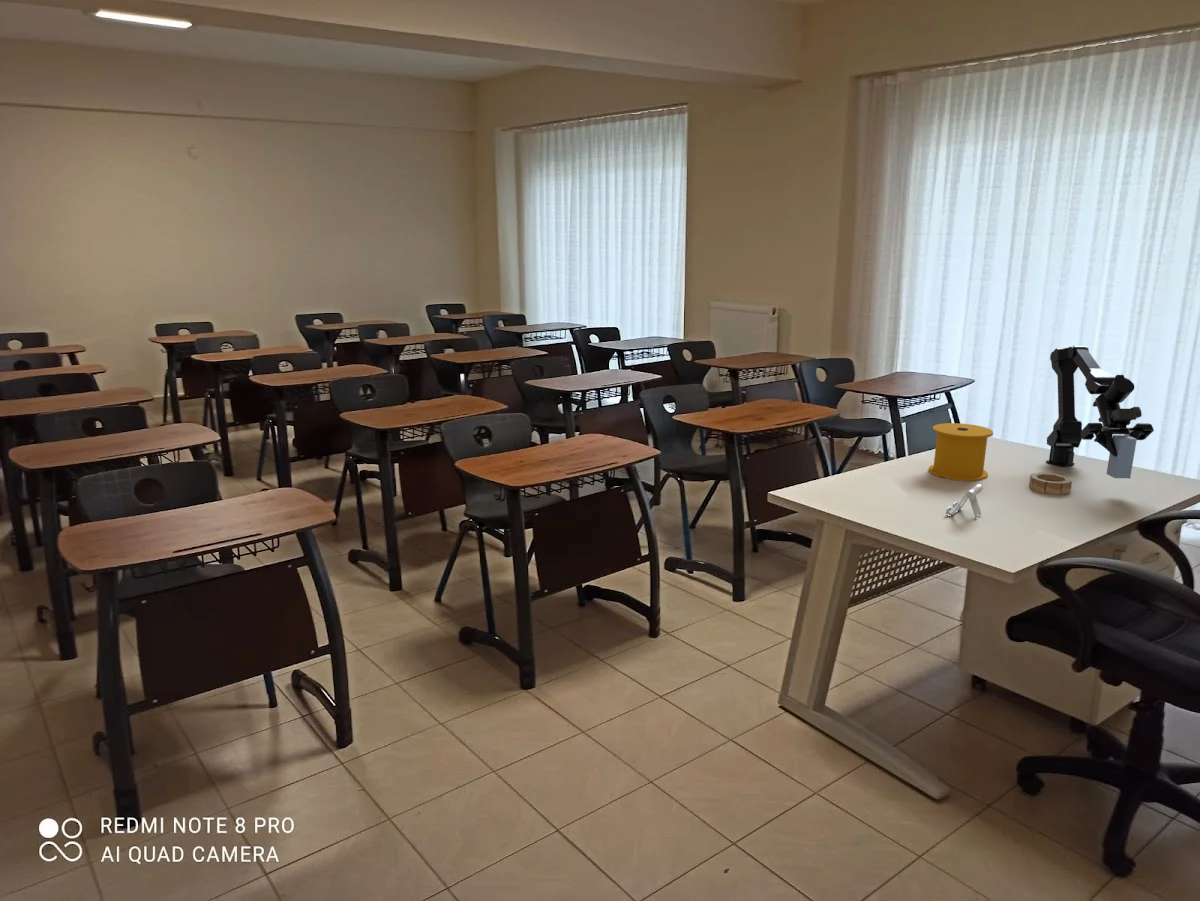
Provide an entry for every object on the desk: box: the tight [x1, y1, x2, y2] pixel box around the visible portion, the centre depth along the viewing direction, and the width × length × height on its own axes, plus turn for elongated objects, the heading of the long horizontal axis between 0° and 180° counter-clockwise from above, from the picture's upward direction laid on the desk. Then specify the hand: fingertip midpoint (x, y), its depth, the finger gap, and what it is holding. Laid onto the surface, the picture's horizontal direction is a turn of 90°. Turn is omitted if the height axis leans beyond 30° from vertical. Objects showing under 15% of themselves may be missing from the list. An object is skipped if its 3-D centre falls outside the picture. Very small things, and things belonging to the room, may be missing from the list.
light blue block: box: [1106, 434, 1138, 479], centre depth 251 cm, size 4×4×12 cm
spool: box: [928, 422, 994, 482], centre depth 274 cm, size 18×18×15 cm
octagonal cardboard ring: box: [1028, 472, 1073, 496], centre depth 259 cm, size 11×11×4 cm
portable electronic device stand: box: [945, 483, 984, 519], centre depth 235 cm, size 9×8×8 cm
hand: (1124, 456), depth 249 cm, fingers closed on light blue block, 4 cm apart
